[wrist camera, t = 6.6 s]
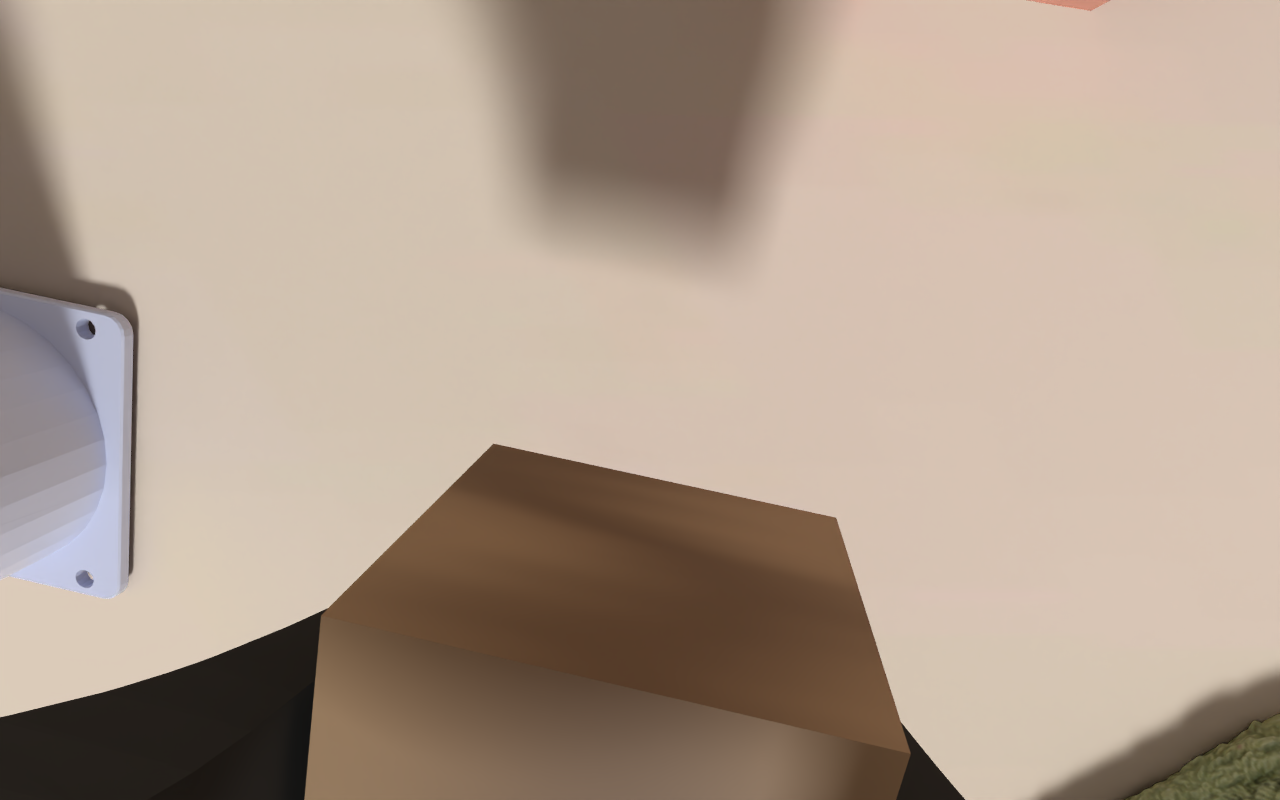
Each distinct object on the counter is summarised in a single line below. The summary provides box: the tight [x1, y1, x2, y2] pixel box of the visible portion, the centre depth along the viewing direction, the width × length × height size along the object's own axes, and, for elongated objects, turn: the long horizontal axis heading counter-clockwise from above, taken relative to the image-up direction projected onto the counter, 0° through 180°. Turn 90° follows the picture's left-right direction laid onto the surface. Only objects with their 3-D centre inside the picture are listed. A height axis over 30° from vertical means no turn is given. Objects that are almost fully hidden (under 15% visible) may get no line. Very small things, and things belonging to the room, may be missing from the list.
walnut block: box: [304, 444, 911, 800], centre depth 10 cm, size 5×5×5 cm
